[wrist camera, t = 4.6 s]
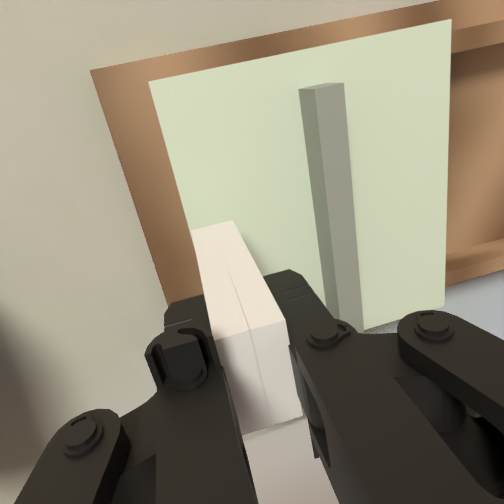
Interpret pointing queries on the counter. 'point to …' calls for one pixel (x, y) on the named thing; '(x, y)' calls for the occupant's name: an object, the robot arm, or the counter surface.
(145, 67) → the brown compartment box
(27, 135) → the counter surface
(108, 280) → the counter surface
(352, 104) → the lid
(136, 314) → the counter surface
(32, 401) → the counter surface
